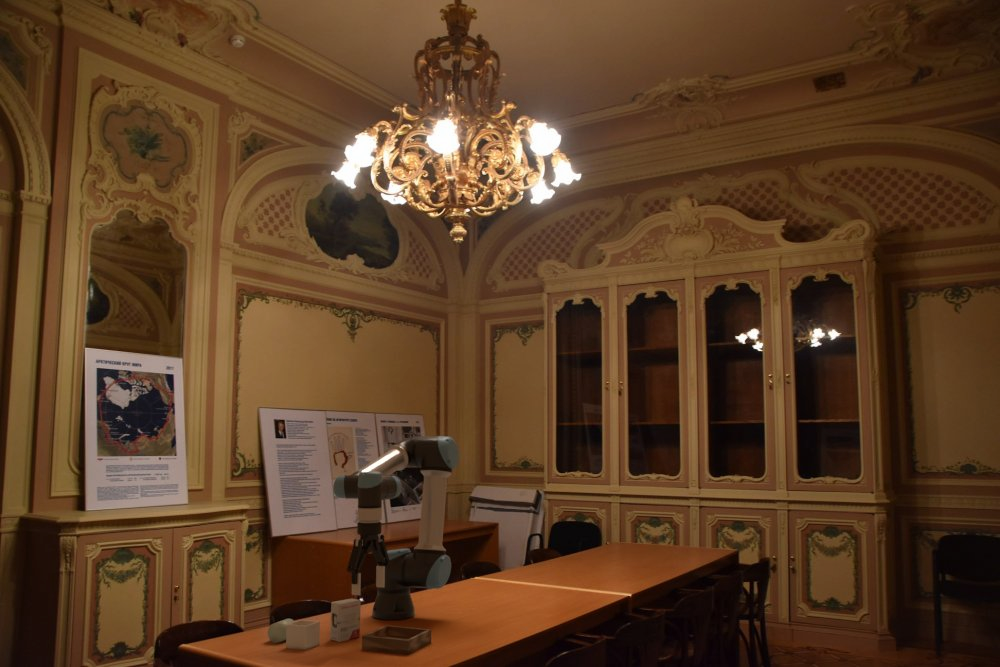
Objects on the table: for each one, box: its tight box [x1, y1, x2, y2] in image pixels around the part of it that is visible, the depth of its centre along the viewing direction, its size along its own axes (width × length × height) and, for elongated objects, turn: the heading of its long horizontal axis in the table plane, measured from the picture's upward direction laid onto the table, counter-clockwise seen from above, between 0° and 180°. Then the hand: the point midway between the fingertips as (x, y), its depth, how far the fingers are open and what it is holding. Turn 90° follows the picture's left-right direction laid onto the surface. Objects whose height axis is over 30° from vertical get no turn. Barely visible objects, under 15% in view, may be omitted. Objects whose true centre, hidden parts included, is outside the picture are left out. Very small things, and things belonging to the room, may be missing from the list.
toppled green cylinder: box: [267, 618, 295, 644], centre depth 263 cm, size 7×6×6 cm
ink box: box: [329, 597, 362, 643], centre depth 266 cm, size 9×5×12 cm, turn 137°
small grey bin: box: [285, 619, 321, 651], centre depth 256 cm, size 7×7×7 cm
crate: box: [361, 625, 432, 656], centre depth 256 cm, size 15×16×4 cm
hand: (368, 590), depth 258 cm, fingers open, 13 cm apart
